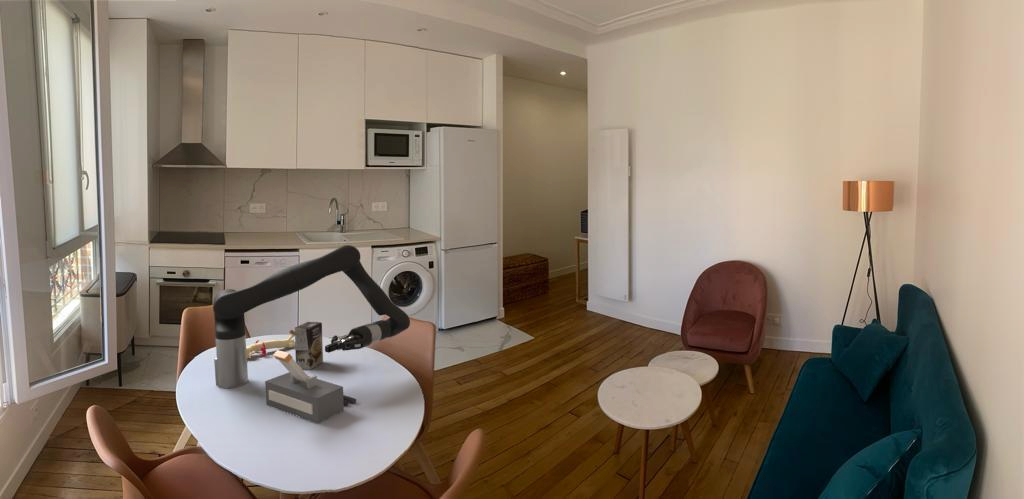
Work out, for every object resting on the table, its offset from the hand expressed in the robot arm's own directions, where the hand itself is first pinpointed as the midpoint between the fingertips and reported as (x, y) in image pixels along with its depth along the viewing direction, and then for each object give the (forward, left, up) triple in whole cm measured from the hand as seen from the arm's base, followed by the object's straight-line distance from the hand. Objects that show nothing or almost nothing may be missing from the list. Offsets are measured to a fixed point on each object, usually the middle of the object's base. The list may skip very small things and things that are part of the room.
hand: (326, 349), depth 171 cm
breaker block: (-2, -6, -17) cm, 18 cm away
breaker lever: (-3, -9, -7) cm, 12 cm away
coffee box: (-22, +25, -17) cm, 38 cm away
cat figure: (-47, +33, -17) cm, 60 cm away
